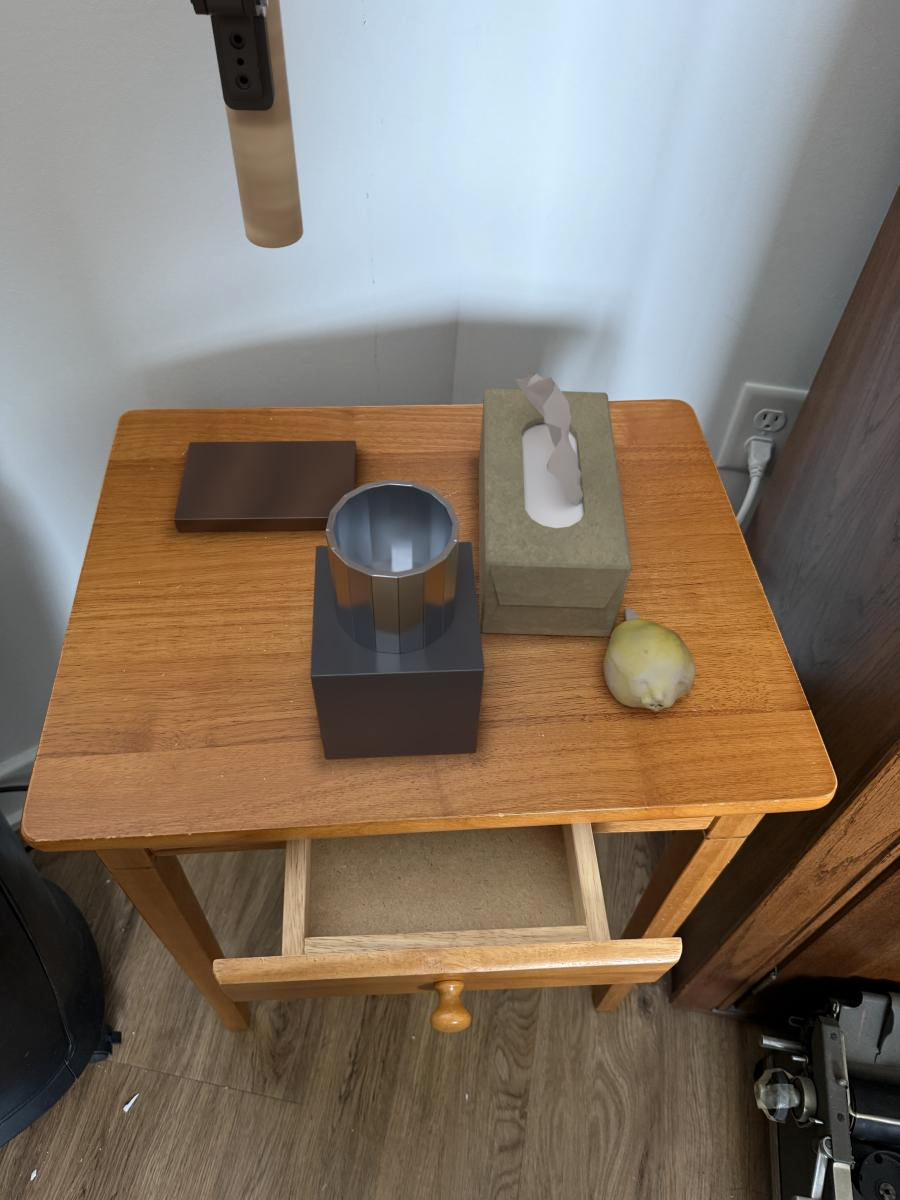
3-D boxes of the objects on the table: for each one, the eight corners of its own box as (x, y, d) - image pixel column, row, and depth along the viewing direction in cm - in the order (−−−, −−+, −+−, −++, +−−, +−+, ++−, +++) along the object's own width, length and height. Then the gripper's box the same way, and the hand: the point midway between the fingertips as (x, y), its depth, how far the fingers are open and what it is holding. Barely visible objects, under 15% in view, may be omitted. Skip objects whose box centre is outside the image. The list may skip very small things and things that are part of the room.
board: (177, 532, 71) (173, 519, 69) (192, 454, 76) (189, 441, 75) (354, 530, 71) (353, 517, 70) (356, 453, 77) (355, 440, 76)
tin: (313, 623, 53) (301, 545, 48) (374, 544, 57) (370, 463, 52) (419, 671, 51) (419, 596, 46) (475, 586, 55) (481, 507, 50)
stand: (324, 759, 59) (310, 676, 51) (328, 636, 65) (315, 545, 57) (476, 753, 59) (484, 670, 51) (465, 632, 65) (471, 541, 57)
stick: (234, 238, 46) (187, -34, 37) (268, 212, 48) (232, -54, 38) (281, 254, 45) (246, -19, 36) (314, 228, 47) (289, -40, 38)
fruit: (663, 614, 67) (714, 717, 60) (587, 640, 67) (628, 745, 60) (654, 561, 63) (707, 665, 56) (573, 589, 63) (615, 695, 56)
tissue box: (478, 459, 77) (490, 297, 64) (591, 463, 77) (625, 302, 64) (479, 637, 65) (493, 481, 53) (612, 641, 65) (657, 487, 53)
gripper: (102, -515, 32) (195, 28, 45) (-15, -509, 23) (144, 162, 37) (313, -505, 32) (343, 32, 46) (277, -494, 23) (327, 165, 37)
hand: (254, 87), depth 41 cm, fingers closed on stick, 3 cm apart
